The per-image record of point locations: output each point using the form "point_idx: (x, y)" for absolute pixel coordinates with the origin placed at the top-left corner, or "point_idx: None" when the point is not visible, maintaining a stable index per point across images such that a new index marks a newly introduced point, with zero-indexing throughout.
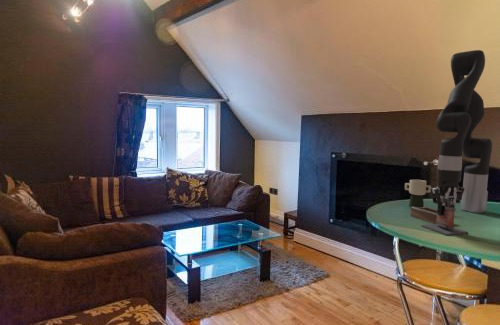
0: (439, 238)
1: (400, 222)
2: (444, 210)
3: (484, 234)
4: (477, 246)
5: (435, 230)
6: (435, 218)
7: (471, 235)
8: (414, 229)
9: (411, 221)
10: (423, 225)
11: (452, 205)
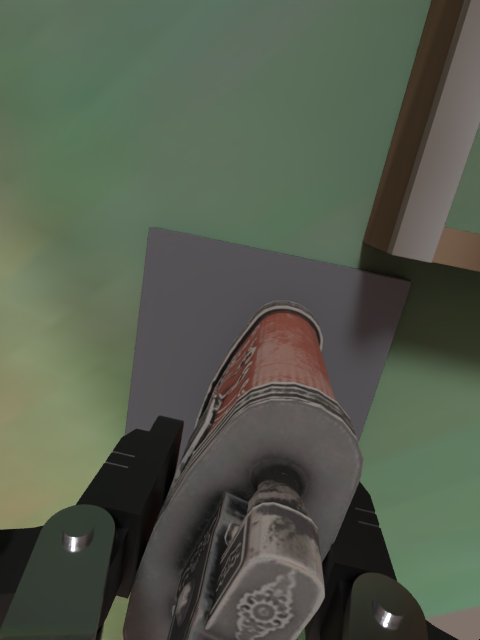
0: (24, 466)
1: (73, 8)
2: (150, 533)
3: (422, 567)
4: (113, 624)
5: (133, 376)
6: (382, 236)
7: None
8: (19, 256)
9: (231, 31)
10: (151, 247)
11: (307, 635)
